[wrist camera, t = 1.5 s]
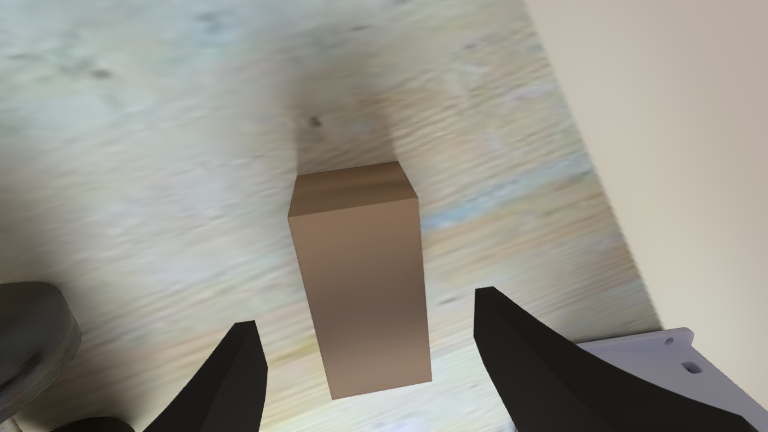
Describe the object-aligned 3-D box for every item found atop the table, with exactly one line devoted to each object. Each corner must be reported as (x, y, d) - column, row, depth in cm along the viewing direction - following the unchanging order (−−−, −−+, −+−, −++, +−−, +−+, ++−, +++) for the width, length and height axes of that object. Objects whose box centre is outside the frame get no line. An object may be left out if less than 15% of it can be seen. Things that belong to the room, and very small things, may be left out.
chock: (297, 174, 15) (287, 217, 12) (397, 159, 15) (417, 197, 12) (331, 329, 19) (332, 399, 15) (412, 315, 19) (431, 381, 15)
